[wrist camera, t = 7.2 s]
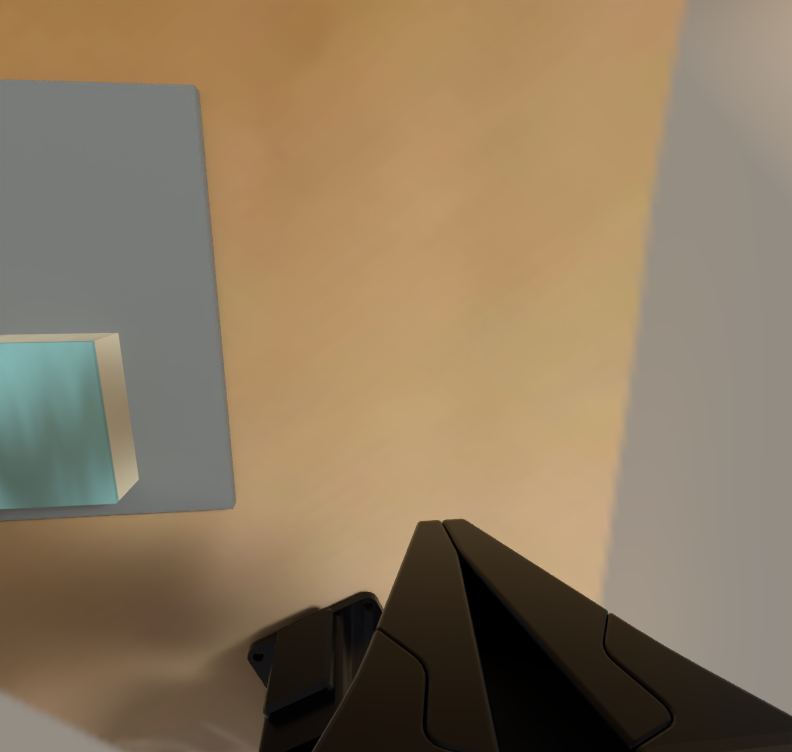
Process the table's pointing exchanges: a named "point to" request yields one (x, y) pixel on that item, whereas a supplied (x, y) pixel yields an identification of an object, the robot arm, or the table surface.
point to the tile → (64, 421)
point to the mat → (121, 269)
